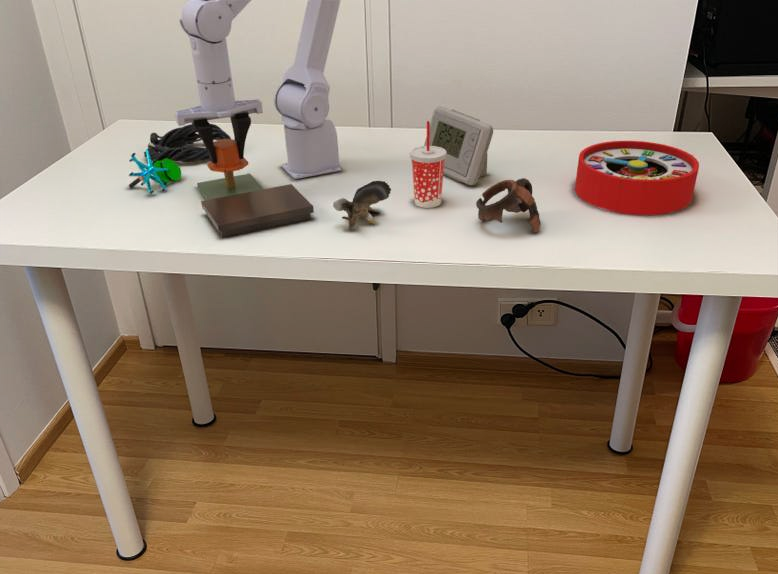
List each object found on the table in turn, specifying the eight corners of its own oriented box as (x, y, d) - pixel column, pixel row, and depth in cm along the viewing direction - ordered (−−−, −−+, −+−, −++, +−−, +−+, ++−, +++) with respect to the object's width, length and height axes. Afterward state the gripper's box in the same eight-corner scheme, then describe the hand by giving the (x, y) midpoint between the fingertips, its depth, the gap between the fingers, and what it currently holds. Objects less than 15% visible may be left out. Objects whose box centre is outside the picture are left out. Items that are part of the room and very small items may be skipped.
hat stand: (250, 178, 140) (246, 146, 136) (266, 196, 132) (262, 163, 129) (197, 188, 136) (191, 156, 133) (211, 207, 129) (205, 173, 125)
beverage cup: (427, 192, 132) (427, 113, 124) (452, 202, 129) (454, 121, 121) (402, 202, 129) (401, 121, 121) (428, 212, 125) (428, 129, 117)
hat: (241, 156, 135) (238, 134, 133) (252, 167, 130) (249, 145, 128) (204, 162, 133) (200, 140, 130) (213, 174, 128) (210, 152, 125)
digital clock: (417, 162, 145) (417, 107, 139) (458, 155, 148) (460, 101, 142) (454, 191, 133) (456, 132, 126) (498, 183, 135) (502, 125, 129)
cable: (237, 141, 157) (234, 121, 155) (226, 165, 146) (223, 143, 143) (156, 143, 157) (152, 123, 154) (138, 167, 145) (134, 145, 143)
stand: (292, 197, 132) (291, 183, 130) (314, 219, 124) (313, 205, 122) (203, 214, 126) (200, 200, 125) (220, 239, 118) (217, 225, 116)
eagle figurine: (380, 229, 117) (401, 199, 123) (353, 193, 114) (376, 164, 120) (348, 245, 122) (369, 214, 128) (321, 210, 119) (344, 181, 125)
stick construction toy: (147, 189, 130) (127, 148, 129) (123, 207, 133) (103, 167, 133) (193, 185, 140) (175, 147, 140) (170, 202, 144) (152, 165, 143)
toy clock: (684, 189, 116) (562, 168, 125) (677, 224, 120) (558, 201, 128) (710, 150, 131) (599, 134, 139) (703, 182, 134) (594, 164, 142)
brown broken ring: (536, 244, 116) (512, 202, 111) (485, 256, 122) (461, 216, 118) (557, 198, 122) (535, 157, 118) (508, 212, 129) (486, 173, 124)
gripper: (175, 91, 117) (191, 174, 125) (263, 79, 122) (273, 159, 130) (166, 81, 123) (181, 161, 130) (251, 70, 128) (261, 147, 135)
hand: (226, 159), depth 131 cm, fingers closed on hat, 4 cm apart
